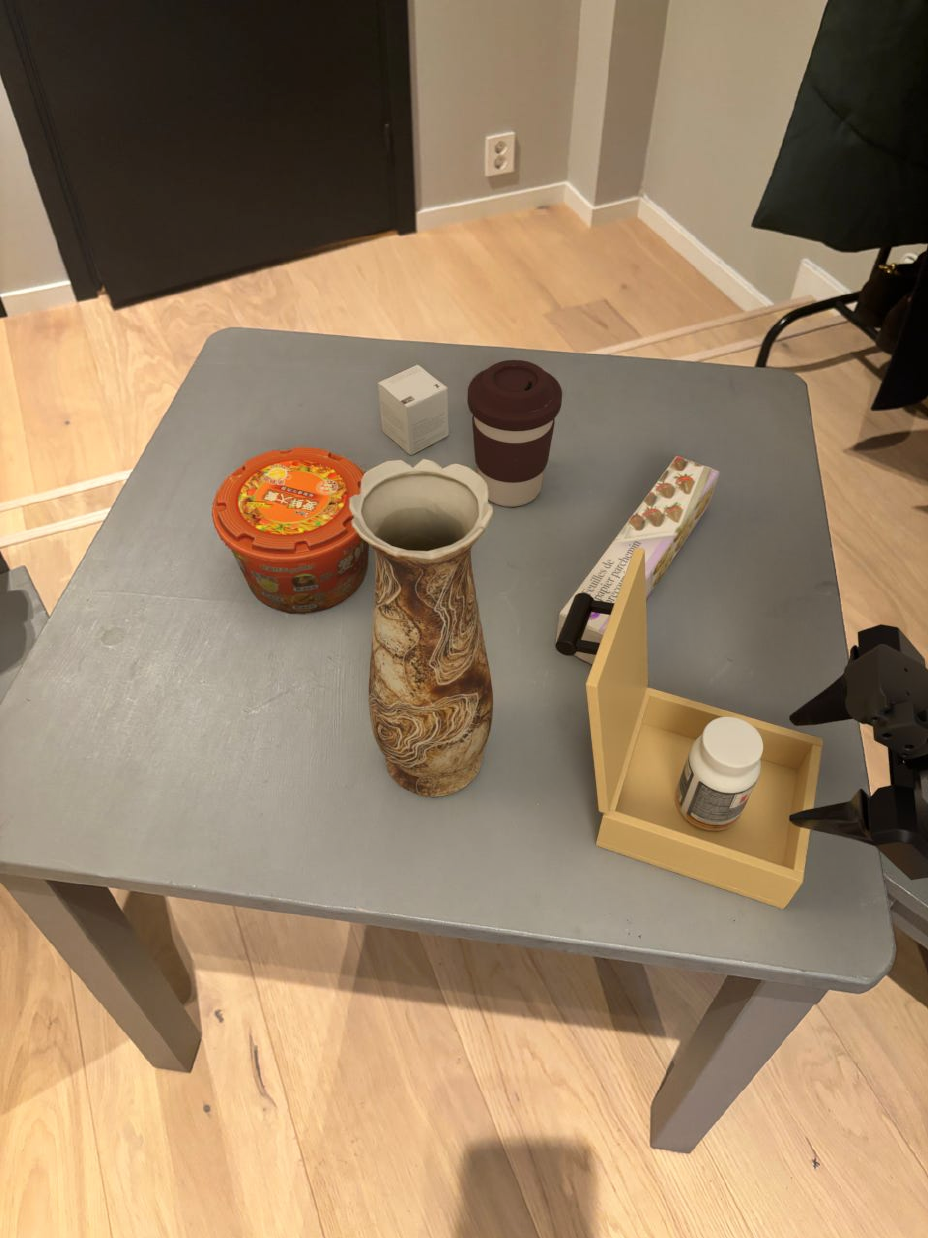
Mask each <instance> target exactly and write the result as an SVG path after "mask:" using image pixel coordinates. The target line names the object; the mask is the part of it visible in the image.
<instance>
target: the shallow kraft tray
mask: <svg viewBox="0 0 928 1238" xmlns="http://www.w3.org/2000/svg"><path fill="white" fill-rule="evenodd" d="M720 717H735V718H739V719H742V720H744V721H746V722H748V723H749V724H751V725H752V726H753V727H754V728H755V729H756V730H757V731H758V733H759V734H760V736H761V738H762V741H763V752H762V756H761V758H760V763H761V768H760V775H759V778H758V780H757V781H756V784H755V786H754V788H753V790H752V792H751V794H750V796H749V799H748V801H747V803H746V805H745V807H744V810H743V812H742V813H741V816H740V817H739V819H738V820H737V821H736V822H735V823H734V824H733V825H732V826H730V827H729V828H726V829H724V830H719V831H709V830H704V829H701V828H699V827H696V826H695V825H693V824H691V823H690V822H689V821H688V820H686V819H685V818H684V816H683V815H682V814H681V812H680V811H679V809H678V806H677V803H676V789H677V786H678V782H679V780H680V777H681V774H682V771H683V768H684V765H685V762H686V760H687V757H688V755H689V752H690V749H691V746H692V744H693V743H694V742H695V740H696V739H697V738H698V737H700V736H701V735H702V733H703V731H704V729H705V727H706V726H707V724H709V723H710V722H711V721H712V720H714V719H717V718H720ZM823 744H824V739H823V738H822V737H817V736H814V735H811V734H807V733H804V732H801V731H797V730H794V729H790V728H787V727H783V726H780V725H777V724H774V723H771V722H767V721H763V720H759V719H756V718H752V717H750V716H746V715H743V714H740V713H737V712H733V711H730V710H726V709H722V708H719V707H716V706H712V705H709V704H705V703H702V702H699V701H695V700H692V699H689V698H686V697H682V696H678V695H676V694H672V693H668V692H665V691H662V690H658V689H655V688H653V687H648V686H647V689H646V692H645V695H644V698H643V702H642V705H641V708H640V712H639V715H638V718H637V721H636V725H635V728H634V731H633V735H632V738H631V741H630V744H629V748H628V751H627V754H626V758H625V761H624V764H623V767H622V771H621V774H620V777H619V781H618V784H617V787H616V790H615V794H614V797H613V800H612V804H611V807H610V810H609V813H608V814H607V813H602V818H601V822H600V826H599V829H598V834H597V837H596V841H595V846H597V847H599V848H602V849H605V850H607V851H611V852H614V853H617V854H620V855H623V856H626V857H628V858H631V859H634V860H638V861H640V862H643V863H646V864H649V865H651V866H655V867H658V868H661V869H664V870H667V871H669V872H673V873H676V874H679V875H681V876H684V877H688V878H690V879H693V880H696V881H699V882H702V883H705V884H708V885H711V886H713V887H716V888H718V889H719V888H720V889H723V890H726V891H729V892H731V893H734V894H737V895H740V896H743V897H746V898H749V899H751V900H755V901H757V902H760V903H763V904H766V905H769V906H772V907H776V908H777V909H782V910H785V908H786V907H787V906H788V904H789V903H790V901H791V900H792V899H793V897H794V896H795V894H796V893H797V892H798V890H799V889H800V887H801V886H802V884H803V883H804V877H805V870H806V863H807V857H808V848H809V841H810V835H811V830H810V829H806V828H801V827H797V826H795V825H794V824H792V823H791V822H790V821H789V816H790V815H792V814H795V813H797V812H800V811H803V810H808V809H813V808H815V807H814V806H815V799H816V795H817V794H816V793H817V786H818V779H819V772H820V765H821V760H822V759H821V758H822V752H823V751H822V750H823V746H824V745H823Z"/></svg>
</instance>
